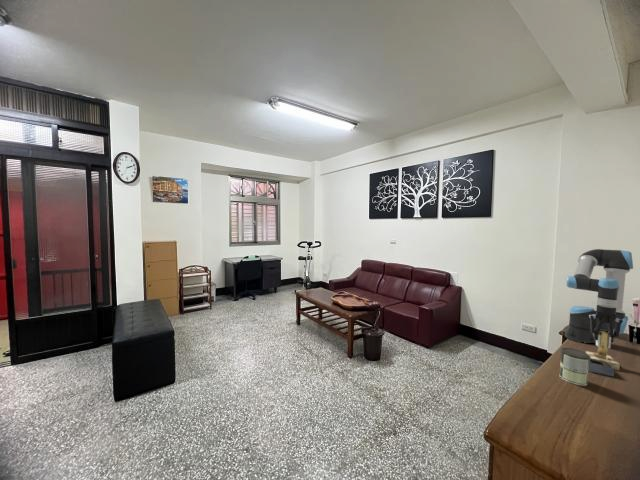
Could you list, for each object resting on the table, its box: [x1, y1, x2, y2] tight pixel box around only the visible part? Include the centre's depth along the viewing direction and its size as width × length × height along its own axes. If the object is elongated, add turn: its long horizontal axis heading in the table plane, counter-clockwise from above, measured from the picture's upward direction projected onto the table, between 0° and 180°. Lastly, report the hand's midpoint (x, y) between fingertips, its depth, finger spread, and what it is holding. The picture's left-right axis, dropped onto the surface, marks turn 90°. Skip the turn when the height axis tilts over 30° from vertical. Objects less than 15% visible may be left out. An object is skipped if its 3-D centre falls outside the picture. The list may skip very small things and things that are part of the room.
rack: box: [585, 350, 621, 371], centre depth 149 cm, size 12×10×4 cm
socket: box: [588, 358, 615, 378], centre depth 142 cm, size 10×10×4 cm
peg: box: [597, 330, 609, 356], centre depth 149 cm, size 4×4×13 cm
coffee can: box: [558, 347, 590, 387], centre depth 130 cm, size 10×10×14 cm
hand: (602, 346), depth 149 cm, fingers closed on peg, 4 cm apart
